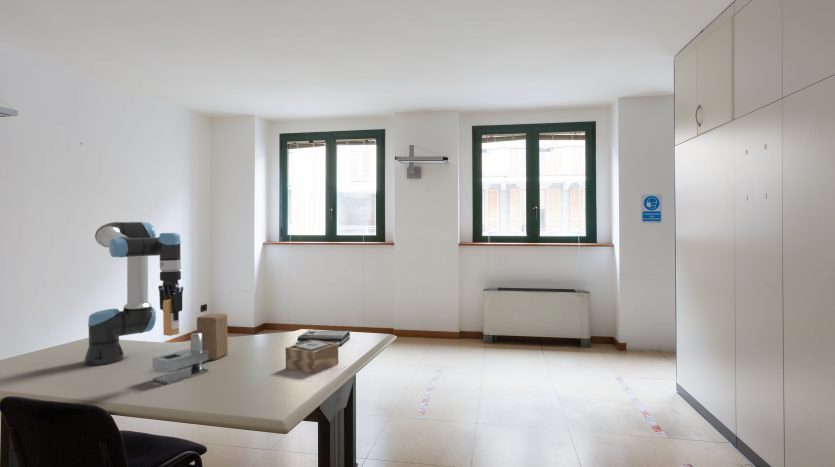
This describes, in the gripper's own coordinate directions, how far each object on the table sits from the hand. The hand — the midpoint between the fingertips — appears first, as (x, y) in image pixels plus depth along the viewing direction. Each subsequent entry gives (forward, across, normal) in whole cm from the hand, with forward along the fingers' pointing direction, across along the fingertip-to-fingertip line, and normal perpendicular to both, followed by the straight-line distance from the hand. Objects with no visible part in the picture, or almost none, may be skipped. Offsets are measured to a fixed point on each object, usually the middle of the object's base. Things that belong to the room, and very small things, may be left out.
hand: (171, 327), depth 184 cm
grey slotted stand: (+21, 0, +4) cm, 21 cm away
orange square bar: (+3, 0, 0) cm, 3 cm away
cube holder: (+21, +39, +40) cm, 60 cm away
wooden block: (+21, -13, +28) cm, 37 cm away
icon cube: (+21, +40, +38) cm, 60 cm away
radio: (+21, +14, +74) cm, 78 cm away
